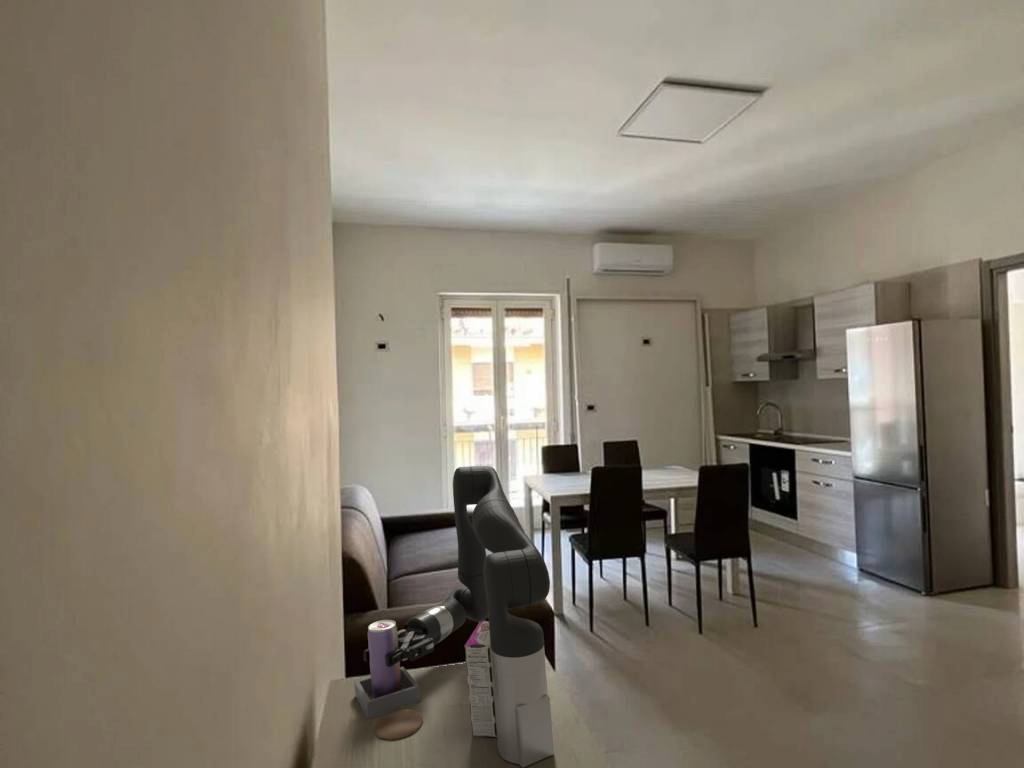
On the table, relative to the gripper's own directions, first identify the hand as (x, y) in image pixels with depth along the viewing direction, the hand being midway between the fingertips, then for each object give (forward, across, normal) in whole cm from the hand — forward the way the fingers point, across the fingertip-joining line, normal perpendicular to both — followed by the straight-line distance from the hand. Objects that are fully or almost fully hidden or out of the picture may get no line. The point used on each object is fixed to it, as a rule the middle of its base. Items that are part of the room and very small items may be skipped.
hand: (376, 659), depth 114 cm
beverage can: (-2, 0, +9) cm, 10 cm away
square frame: (-2, 0, +9) cm, 9 cm away
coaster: (+4, +9, +9) cm, 13 cm away
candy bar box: (-4, +24, +9) cm, 26 cm away
